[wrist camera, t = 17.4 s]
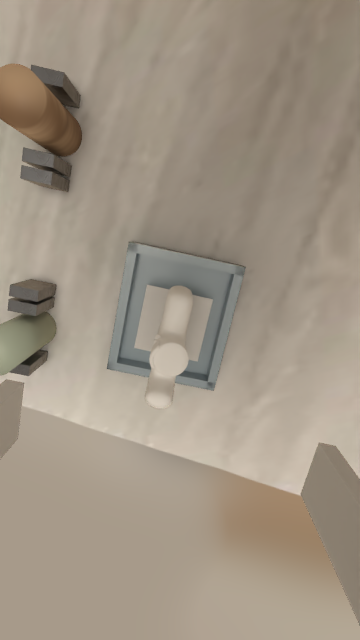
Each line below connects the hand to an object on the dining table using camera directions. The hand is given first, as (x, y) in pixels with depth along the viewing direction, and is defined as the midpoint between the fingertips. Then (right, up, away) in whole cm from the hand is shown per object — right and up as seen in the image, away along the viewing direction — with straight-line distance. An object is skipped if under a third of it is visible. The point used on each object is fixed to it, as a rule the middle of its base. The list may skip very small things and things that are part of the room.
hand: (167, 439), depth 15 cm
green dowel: (-17, +4, +27) cm, 32 cm away
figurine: (0, +6, +26) cm, 26 cm away
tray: (0, +6, +26) cm, 27 cm away
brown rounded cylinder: (-12, +25, +21) cm, 35 cm away
